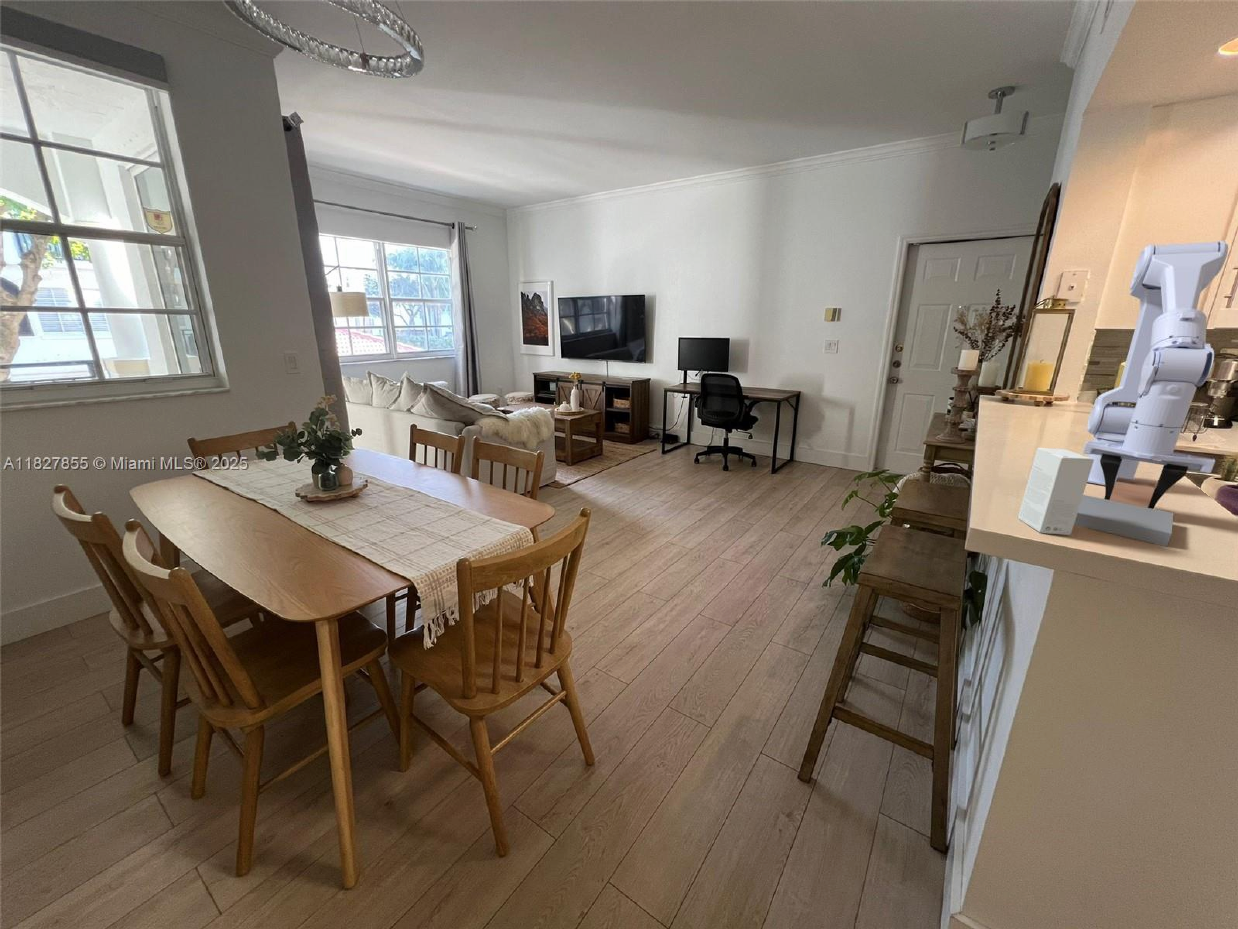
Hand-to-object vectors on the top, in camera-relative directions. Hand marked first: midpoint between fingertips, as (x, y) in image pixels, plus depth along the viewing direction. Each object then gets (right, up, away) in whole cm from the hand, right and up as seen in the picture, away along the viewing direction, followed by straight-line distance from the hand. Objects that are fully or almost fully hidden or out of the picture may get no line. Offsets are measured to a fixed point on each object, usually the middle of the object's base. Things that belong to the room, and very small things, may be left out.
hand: (1128, 502), depth 81 cm
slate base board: (-7, -3, -5) cm, 9 cm away
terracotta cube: (0, -1, 0) cm, 1 cm away
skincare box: (-20, -3, -6) cm, 22 cm away
